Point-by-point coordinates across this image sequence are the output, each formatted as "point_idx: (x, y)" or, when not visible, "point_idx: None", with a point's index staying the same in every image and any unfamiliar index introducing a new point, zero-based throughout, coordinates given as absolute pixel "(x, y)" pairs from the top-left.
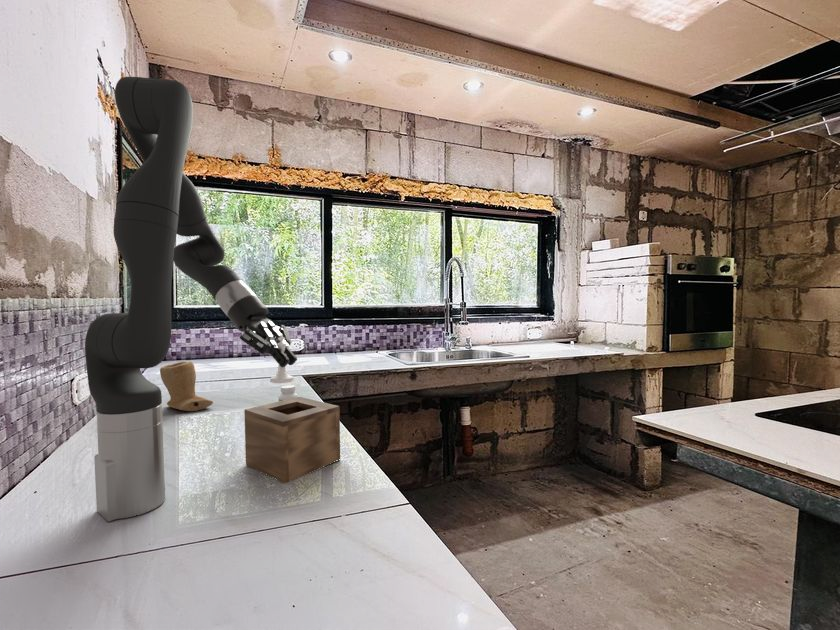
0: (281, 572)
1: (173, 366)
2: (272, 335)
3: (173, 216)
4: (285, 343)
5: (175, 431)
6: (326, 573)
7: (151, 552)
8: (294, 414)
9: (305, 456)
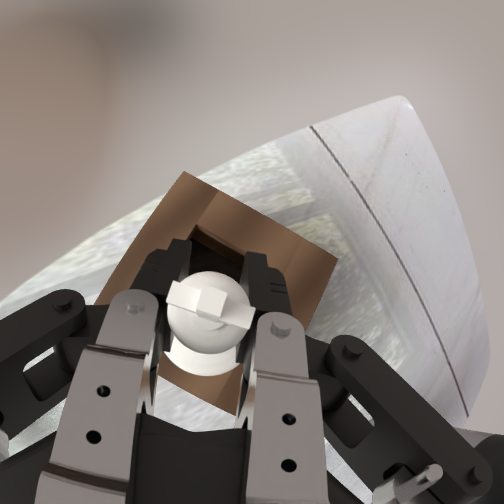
0: (429, 209)
1: None
2: (260, 391)
3: None
4: (201, 276)
5: None
6: (418, 177)
7: (442, 338)
8: (278, 257)
9: None
